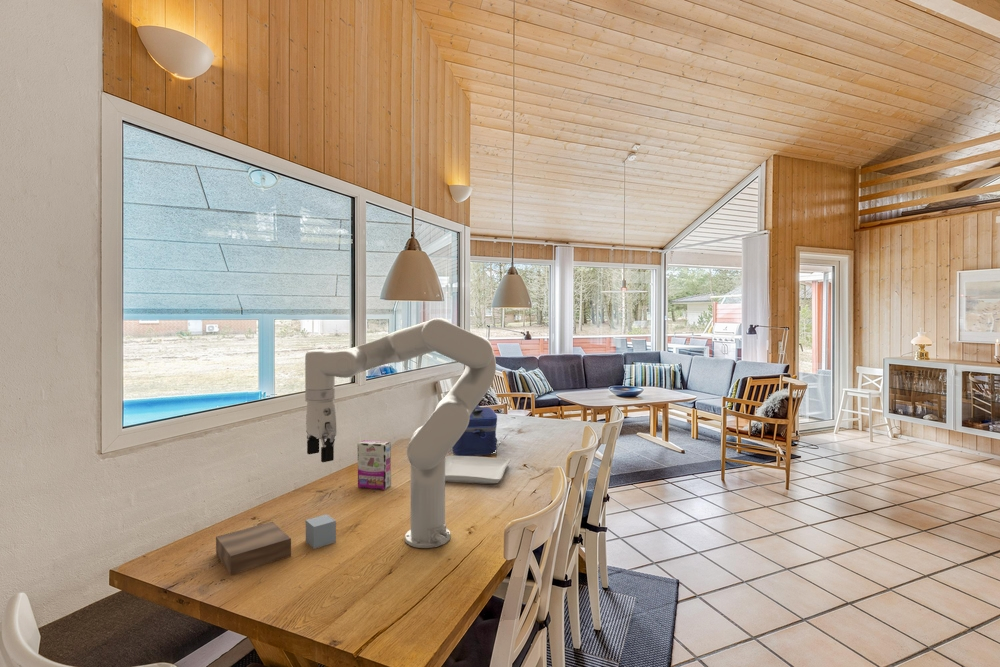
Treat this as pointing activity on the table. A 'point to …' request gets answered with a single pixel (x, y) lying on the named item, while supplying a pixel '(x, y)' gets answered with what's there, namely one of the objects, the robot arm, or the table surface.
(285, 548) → the walnut block
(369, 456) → the candy bar box
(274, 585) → the table surface
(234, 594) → the table surface
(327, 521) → the slate cube
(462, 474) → the square plate
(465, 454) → the lunch bag
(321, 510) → the table surface
